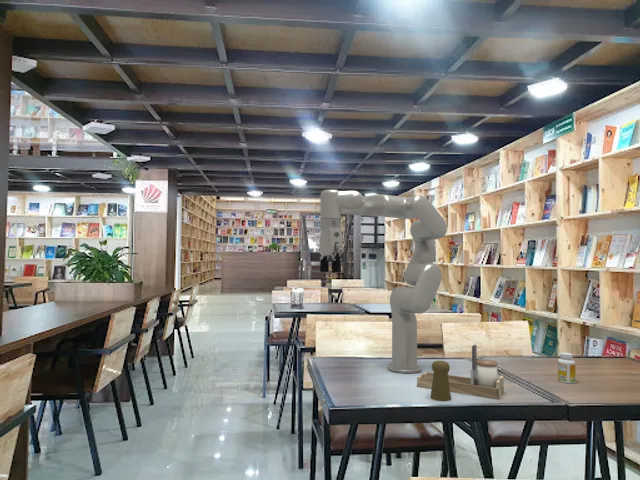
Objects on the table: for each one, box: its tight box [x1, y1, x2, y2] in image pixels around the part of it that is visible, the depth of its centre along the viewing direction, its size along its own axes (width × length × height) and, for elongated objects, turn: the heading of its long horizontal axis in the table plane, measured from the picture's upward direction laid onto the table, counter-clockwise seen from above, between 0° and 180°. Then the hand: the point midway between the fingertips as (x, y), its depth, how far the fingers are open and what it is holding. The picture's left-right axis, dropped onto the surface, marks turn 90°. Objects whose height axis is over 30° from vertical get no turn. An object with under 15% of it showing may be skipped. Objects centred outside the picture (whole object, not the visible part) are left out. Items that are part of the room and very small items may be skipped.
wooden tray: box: [416, 371, 505, 400], centre depth 144 cm, size 9×25×5 cm, turn 59°
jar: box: [477, 358, 498, 388], centre depth 140 cm, size 6×6×10 cm
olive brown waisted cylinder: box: [430, 360, 452, 402], centre depth 134 cm, size 6×6×11 cm
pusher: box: [470, 344, 478, 385], centre depth 142 cm, size 7×1×14 cm, turn 149°
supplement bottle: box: [557, 352, 577, 384], centre depth 155 cm, size 5×5×10 cm
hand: (330, 272), depth 158 cm, fingers open, 9 cm apart
